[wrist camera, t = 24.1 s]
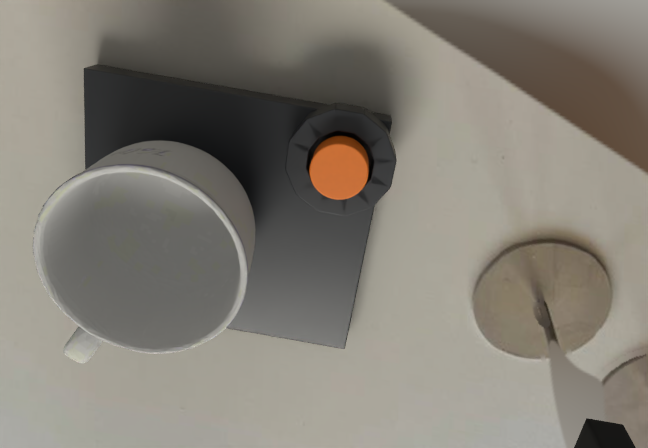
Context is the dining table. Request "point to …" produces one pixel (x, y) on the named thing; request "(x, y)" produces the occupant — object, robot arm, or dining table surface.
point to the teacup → (147, 249)
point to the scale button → (339, 167)
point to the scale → (261, 186)
